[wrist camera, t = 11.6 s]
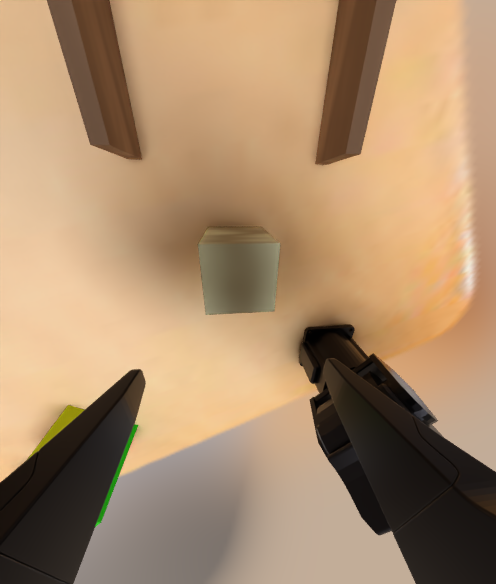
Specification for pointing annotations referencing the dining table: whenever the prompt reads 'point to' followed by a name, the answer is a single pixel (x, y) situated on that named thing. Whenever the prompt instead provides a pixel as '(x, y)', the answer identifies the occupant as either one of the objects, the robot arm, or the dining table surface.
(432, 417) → the robot arm
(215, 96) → the dining table surface
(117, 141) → the open wooden frame
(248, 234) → the block
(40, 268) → the dining table surface
